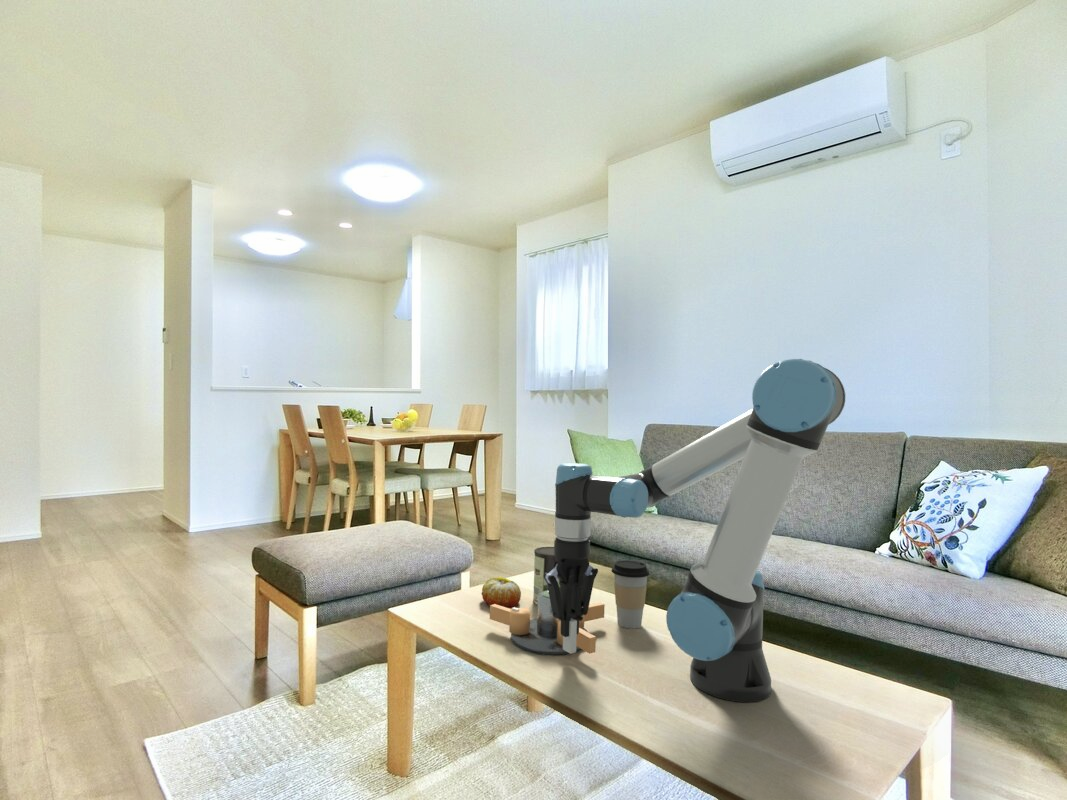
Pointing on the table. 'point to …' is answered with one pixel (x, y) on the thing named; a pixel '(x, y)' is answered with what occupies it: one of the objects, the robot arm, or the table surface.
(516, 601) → the fruit
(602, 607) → the knob
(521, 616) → the knob
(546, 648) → the base
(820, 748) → the table surface
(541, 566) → the coffee can
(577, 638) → the knob
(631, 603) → the coffee cup
